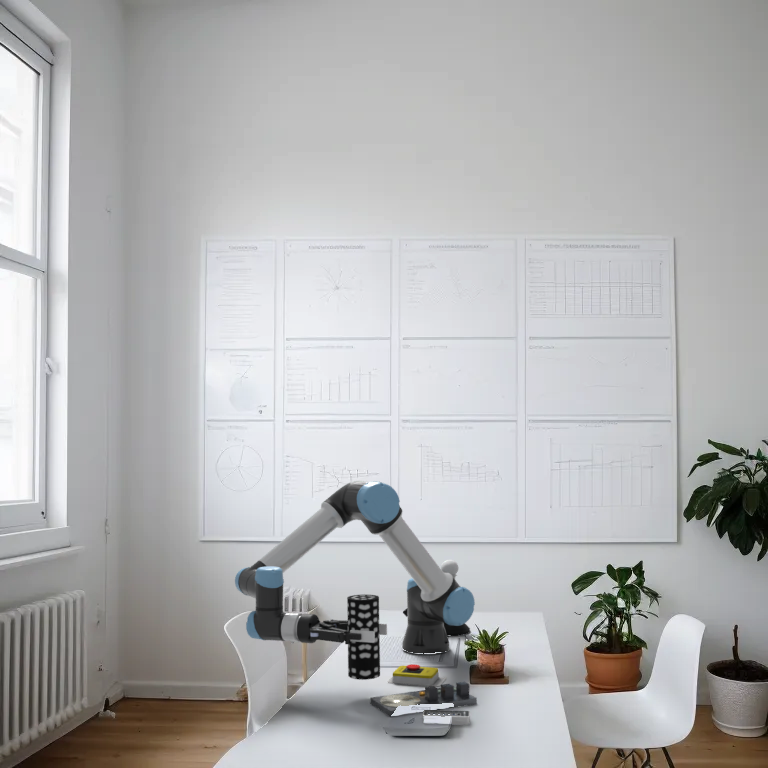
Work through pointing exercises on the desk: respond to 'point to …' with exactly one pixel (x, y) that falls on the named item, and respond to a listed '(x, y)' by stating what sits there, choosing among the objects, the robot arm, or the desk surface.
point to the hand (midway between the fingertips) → (380, 633)
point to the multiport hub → (457, 716)
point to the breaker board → (416, 693)
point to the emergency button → (417, 676)
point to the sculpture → (452, 630)
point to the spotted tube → (363, 653)
